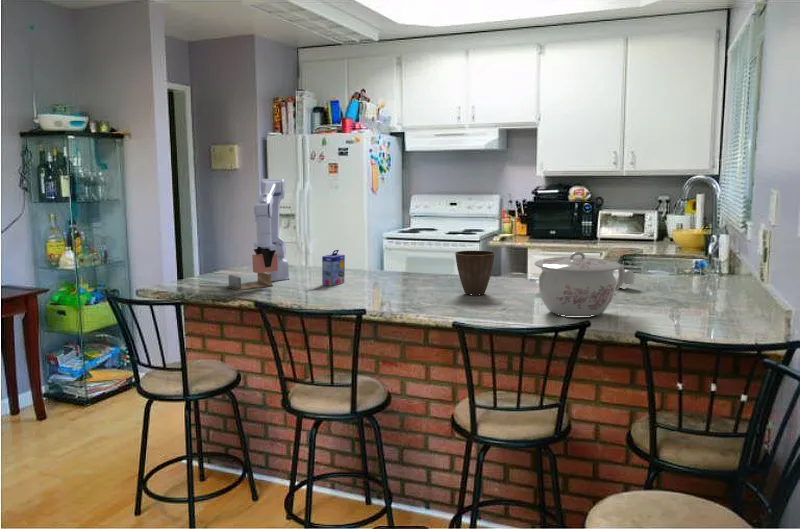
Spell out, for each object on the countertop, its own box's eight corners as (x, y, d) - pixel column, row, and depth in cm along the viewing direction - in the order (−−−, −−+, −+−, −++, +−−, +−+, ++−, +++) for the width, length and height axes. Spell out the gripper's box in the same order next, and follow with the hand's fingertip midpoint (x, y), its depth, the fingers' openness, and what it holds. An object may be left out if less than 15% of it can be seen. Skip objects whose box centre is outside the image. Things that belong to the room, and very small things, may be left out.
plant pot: (447, 294, 246) (447, 253, 244) (467, 288, 258) (468, 249, 256) (481, 299, 237) (482, 256, 235) (501, 293, 249) (501, 252, 247)
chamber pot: (524, 319, 206) (526, 254, 203) (542, 302, 231) (543, 245, 228) (616, 327, 195) (619, 259, 192) (624, 309, 220) (627, 248, 217)
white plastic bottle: (597, 282, 272) (598, 263, 271) (635, 289, 256) (636, 269, 255) (584, 284, 268) (585, 265, 267) (621, 291, 252) (622, 271, 251)
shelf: (261, 282, 275) (261, 271, 274) (272, 286, 267) (272, 274, 266) (227, 287, 265) (226, 275, 264) (237, 290, 257) (237, 278, 257)
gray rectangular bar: (231, 285, 266) (231, 274, 265) (241, 288, 259) (240, 277, 258) (228, 285, 265) (228, 275, 264) (238, 288, 258) (237, 277, 257)
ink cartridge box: (332, 286, 266) (332, 251, 264) (321, 285, 268) (320, 250, 266) (345, 282, 274) (345, 248, 272) (334, 281, 277) (334, 248, 275)
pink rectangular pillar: (272, 269, 267) (272, 252, 266) (277, 270, 264) (277, 253, 262) (253, 272, 261) (252, 254, 260) (257, 273, 258) (256, 255, 257)
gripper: (246, 232, 263) (248, 265, 265) (263, 235, 252) (264, 269, 254) (262, 231, 267) (263, 263, 269) (279, 233, 256) (280, 267, 258)
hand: (265, 266), depth 262 cm, fingers closed on pink rectangular pillar, 4 cm apart
